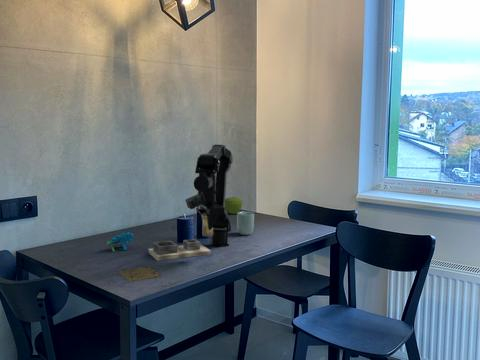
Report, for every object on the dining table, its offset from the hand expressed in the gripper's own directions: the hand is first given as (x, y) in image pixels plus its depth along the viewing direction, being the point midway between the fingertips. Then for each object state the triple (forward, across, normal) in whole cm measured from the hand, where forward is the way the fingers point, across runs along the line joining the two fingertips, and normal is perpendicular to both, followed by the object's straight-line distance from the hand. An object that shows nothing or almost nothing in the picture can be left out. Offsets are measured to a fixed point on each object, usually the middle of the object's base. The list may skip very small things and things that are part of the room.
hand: (207, 228), depth 184 cm
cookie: (+12, +7, -28) cm, 32 cm away
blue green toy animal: (+12, -27, -27) cm, 40 cm away
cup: (+12, -30, +32) cm, 46 cm away
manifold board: (+12, -11, -7) cm, 18 cm away
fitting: (+2, 0, 0) cm, 2 cm away
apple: (+12, -77, +48) cm, 92 cm away
